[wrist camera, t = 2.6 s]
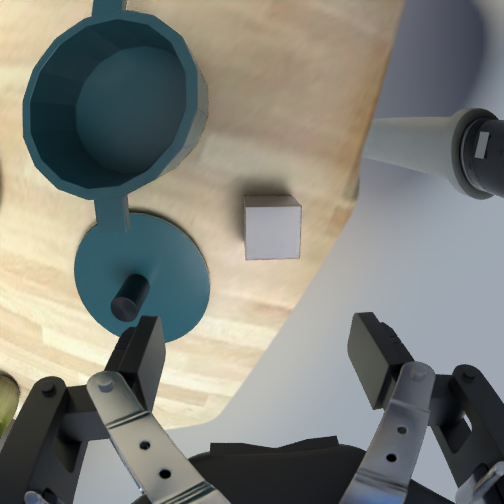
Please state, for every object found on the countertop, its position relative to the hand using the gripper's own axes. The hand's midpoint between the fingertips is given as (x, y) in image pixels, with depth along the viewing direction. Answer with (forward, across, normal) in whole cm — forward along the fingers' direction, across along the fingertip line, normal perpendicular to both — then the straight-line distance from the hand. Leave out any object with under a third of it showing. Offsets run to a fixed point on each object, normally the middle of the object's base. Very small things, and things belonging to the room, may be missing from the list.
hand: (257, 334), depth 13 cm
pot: (+18, +10, -11) cm, 24 cm away
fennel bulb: (+18, +38, +26) cm, 50 cm away
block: (+18, -2, 0) cm, 19 cm away
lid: (+18, +11, +6) cm, 22 cm away
